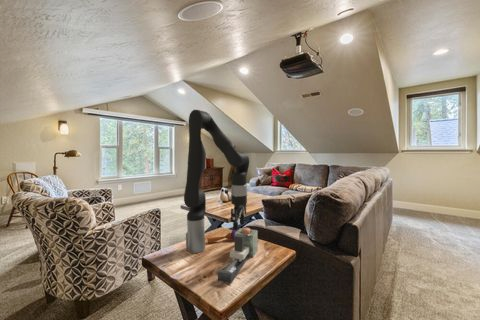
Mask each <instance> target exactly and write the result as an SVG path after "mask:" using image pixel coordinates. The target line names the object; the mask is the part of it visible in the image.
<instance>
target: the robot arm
mask: <svg viewBox="0 0 480 320" xmlns="http://www.w3.org/2000/svg"><path fill="white" fill-rule="evenodd" d="M202 130H205V131H206V132H207V133H209V134H210V136H211V137H212V141H213V142H214V144H215V146H216V147H217V149H219V150H220V151H221V153H223V155H224V157H225V159H226V161H227V163H228V164H229V165H230V166H231V167H234V168H236V169H235V171H234V172H233V173H231V174H232V175H231V189H230V191H231V193H230V194H231V195H230V196H231V197H230V201H231V202H230V203H231V204H232V205H234V207H233V208H231V209H230V222H231V223H232V231H233V230H236V231H237V230H239V224H240V225H242V226H243V225H245V217H246V215H247V203H248V187H247V185H248V184H247V175H248V171H249V167H250V158H249V155H248V154H247V153H246V152H242V151H241V152H240V151H239V152H238V151H237V149H236V145H235V143H234V142H233V141H232V140H231V139H230V138H229V137H228V136H227V135H226V133H224V132H223V131H222V130H221V128H220V127H219V126H218V124H217V123H216V121H215V119H214V118H213V117H212V116H211V115H210V113H208V112H207V111H203V110H200V109H193V110H191V111H190V113H189V115H188V137H189V138H188V151H187V153H188V155H187V167H186V168H187V171H186V172H187V173H186V183H185V189H184V195H183V202H184V204H185V206H186V207H187V208H189V210H188V213H187V214H186V223H187V224H186V225H187V226H186V229H187V230H186V233H185V249H186V251H188V252H189V253H190V254H199V253H201V252H204V251H205V250H206V237H205V235H206V233H205V232H206V231H205V229H206V228H205V215H206V204H207V203H206V199H207V198H206V194H205V191H204V190H203V189H202V188H200V181H201V179H202V176H203V174H204V171H205V167H206V159H207V158H206V157H207V153H206V149H205V147H204V144H203V142H202V141H203V140H202V137H201V136H202Z"/></svg>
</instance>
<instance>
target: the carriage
mask: <svg viewBox="0 0 480 320" xmlns="http://www.w3.org/2000/svg"><path fill="white" fill-rule="evenodd" d="M233 242H234V247H233V248H232V249H231V250H230V251H229V258H231V259H233V261H234V260H235V258H236V259H239V262H241V261H242V260H244V259H245V257H246V256H247V254H248V253H249V247H244V235H240V234H236V235H235V236H234V239H233Z"/></svg>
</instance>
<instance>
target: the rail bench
mask: <svg viewBox="0 0 480 320" xmlns="http://www.w3.org/2000/svg"><path fill="white" fill-rule="evenodd" d="M243 228H244V227H242V228H241V227H239V228H238V231H237V232H236V233H235V235H236V234H240V235H244V247H249V253H248V254H247V256H246V257H245V259H244V260H242V261H241V262H239V259H236V258H235V260H234V261H233V258H231V261H230V262H229V263H228V264H227V265H226V266H225V268H224V269H218V270H217V281H219V282H223V283H226V284H232V283H233V282H234V280H235V278H237V276H238V275H239V273H240V271H241V270H242V268H243V267H244V266H245V264H246V263H247V261H248V260H249V258H254V257H255V255H257V252H258V243H259V242H258V241H259V239H258V230H257V229H251V228H250V234H243V233H242V229H243Z"/></svg>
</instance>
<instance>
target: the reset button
mask: <svg viewBox="0 0 480 320" xmlns="http://www.w3.org/2000/svg"><path fill="white" fill-rule="evenodd" d="M242 228H243V229H242V233H243V234H250V229H251V228H250V227H242Z"/></svg>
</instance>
